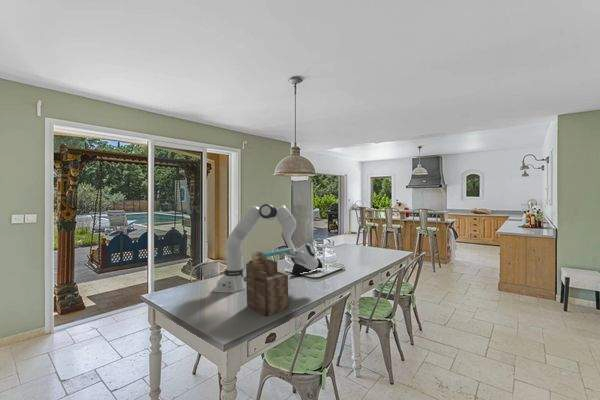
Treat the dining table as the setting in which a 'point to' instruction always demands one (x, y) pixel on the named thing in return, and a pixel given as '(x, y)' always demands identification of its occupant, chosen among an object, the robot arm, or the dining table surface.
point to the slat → (276, 252)
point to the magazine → (303, 268)
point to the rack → (266, 286)
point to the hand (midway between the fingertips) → (286, 249)
